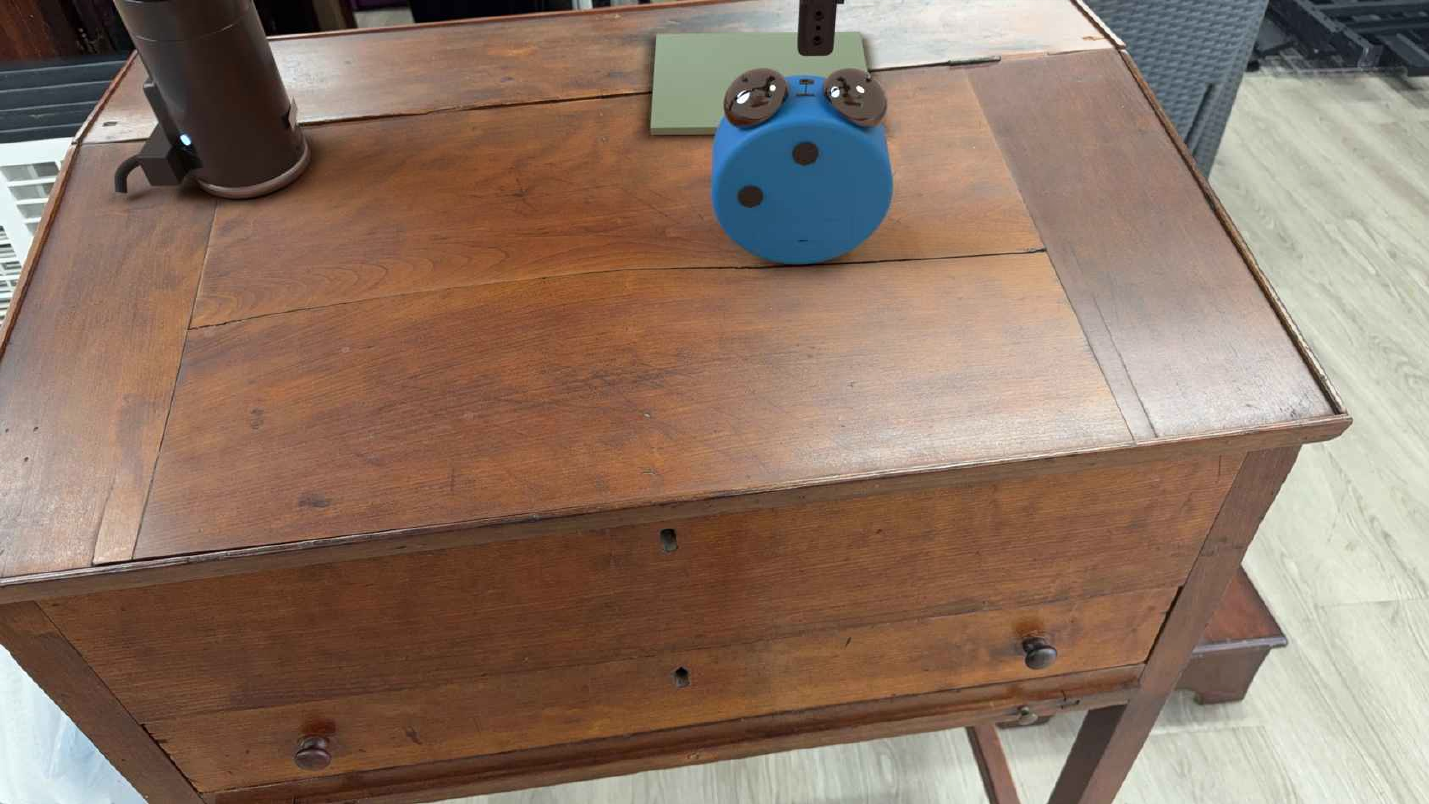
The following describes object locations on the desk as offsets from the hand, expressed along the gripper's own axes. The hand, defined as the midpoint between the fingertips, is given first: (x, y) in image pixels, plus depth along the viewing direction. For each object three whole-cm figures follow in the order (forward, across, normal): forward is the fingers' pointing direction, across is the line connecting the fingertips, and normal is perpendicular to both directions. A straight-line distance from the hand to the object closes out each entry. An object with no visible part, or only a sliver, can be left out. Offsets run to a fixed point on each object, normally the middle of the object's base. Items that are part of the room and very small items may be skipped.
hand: (810, 18), depth 66 cm
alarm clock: (+19, 0, 0) cm, 19 cm away
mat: (+19, -23, -2) cm, 30 cm away
